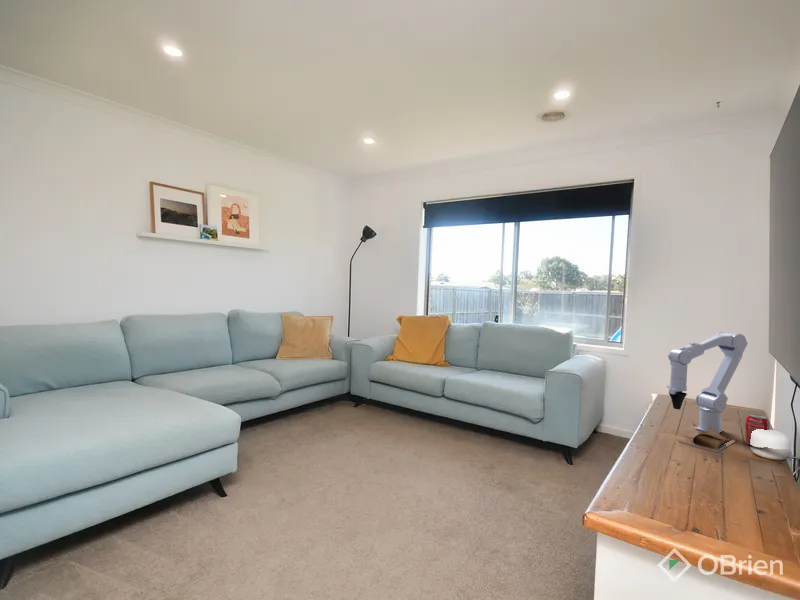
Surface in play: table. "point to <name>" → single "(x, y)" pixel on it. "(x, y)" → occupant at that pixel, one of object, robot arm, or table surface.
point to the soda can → (755, 425)
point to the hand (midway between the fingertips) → (676, 408)
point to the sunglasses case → (710, 439)
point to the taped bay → (709, 449)
